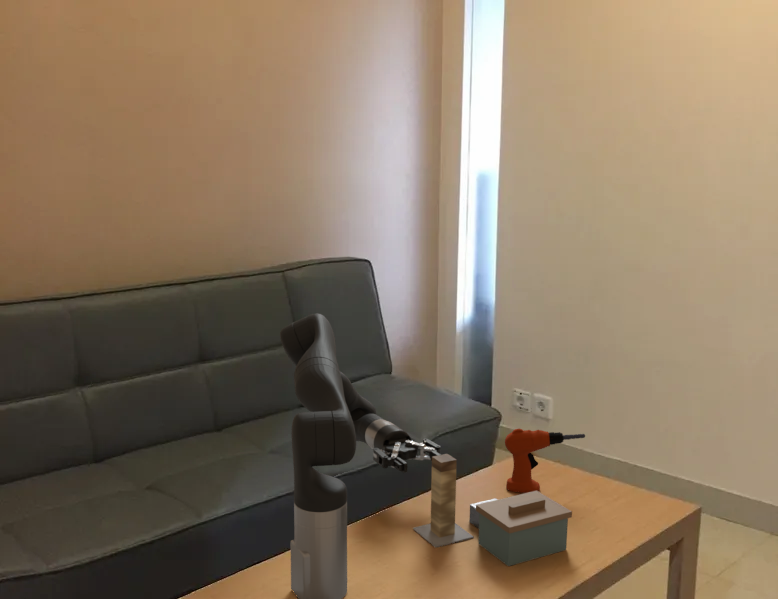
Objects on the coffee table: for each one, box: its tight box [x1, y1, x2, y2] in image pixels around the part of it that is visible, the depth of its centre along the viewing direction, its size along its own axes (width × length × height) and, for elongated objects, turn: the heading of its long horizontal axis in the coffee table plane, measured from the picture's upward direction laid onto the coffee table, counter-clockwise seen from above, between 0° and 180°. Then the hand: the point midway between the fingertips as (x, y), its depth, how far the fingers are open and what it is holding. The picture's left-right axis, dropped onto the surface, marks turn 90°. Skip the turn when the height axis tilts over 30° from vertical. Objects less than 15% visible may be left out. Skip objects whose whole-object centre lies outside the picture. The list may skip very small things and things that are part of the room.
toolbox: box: [476, 491, 573, 567], centre depth 163 cm, size 15×11×10 cm
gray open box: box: [468, 498, 499, 530], centre depth 173 cm, size 7×7×4 cm
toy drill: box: [504, 428, 586, 494], centre depth 190 cm, size 5×19×15 cm, turn 85°
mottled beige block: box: [430, 453, 458, 538], centre depth 168 cm, size 4×4×16 cm
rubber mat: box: [412, 522, 474, 549], centre depth 170 cm, size 9×9×1 cm
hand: (423, 464), depth 174 cm, fingers open, 8 cm apart
